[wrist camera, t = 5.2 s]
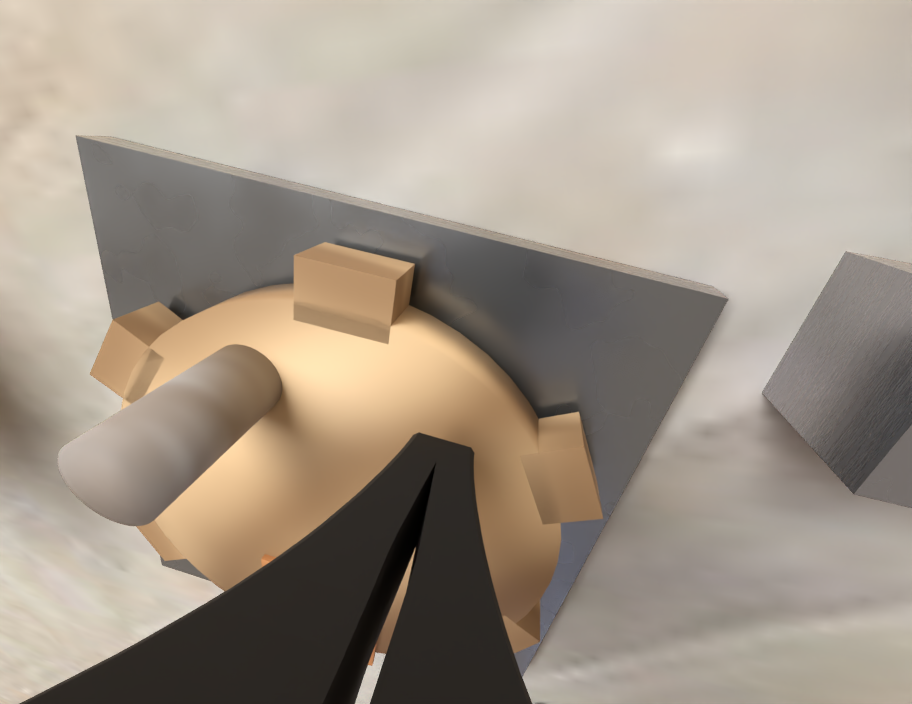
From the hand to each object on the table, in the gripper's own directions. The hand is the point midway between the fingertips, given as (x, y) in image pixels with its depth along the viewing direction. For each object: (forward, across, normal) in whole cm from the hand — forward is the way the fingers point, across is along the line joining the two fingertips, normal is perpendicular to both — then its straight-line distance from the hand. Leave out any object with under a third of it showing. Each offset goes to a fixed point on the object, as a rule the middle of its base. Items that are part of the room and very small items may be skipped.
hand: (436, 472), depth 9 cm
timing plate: (+4, +3, +4) cm, 7 cm away
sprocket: (+3, +3, +4) cm, 6 cm away
